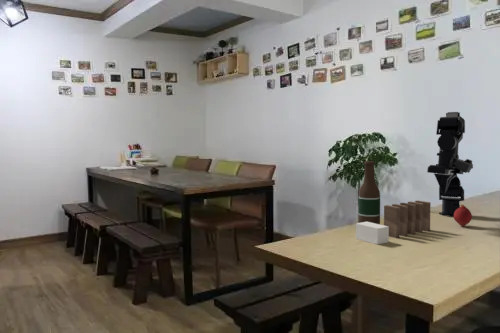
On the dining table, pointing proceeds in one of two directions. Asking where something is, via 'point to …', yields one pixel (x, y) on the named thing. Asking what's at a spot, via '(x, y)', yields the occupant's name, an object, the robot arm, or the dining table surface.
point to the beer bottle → (369, 197)
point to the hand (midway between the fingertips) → (443, 193)
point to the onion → (462, 215)
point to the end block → (372, 232)
